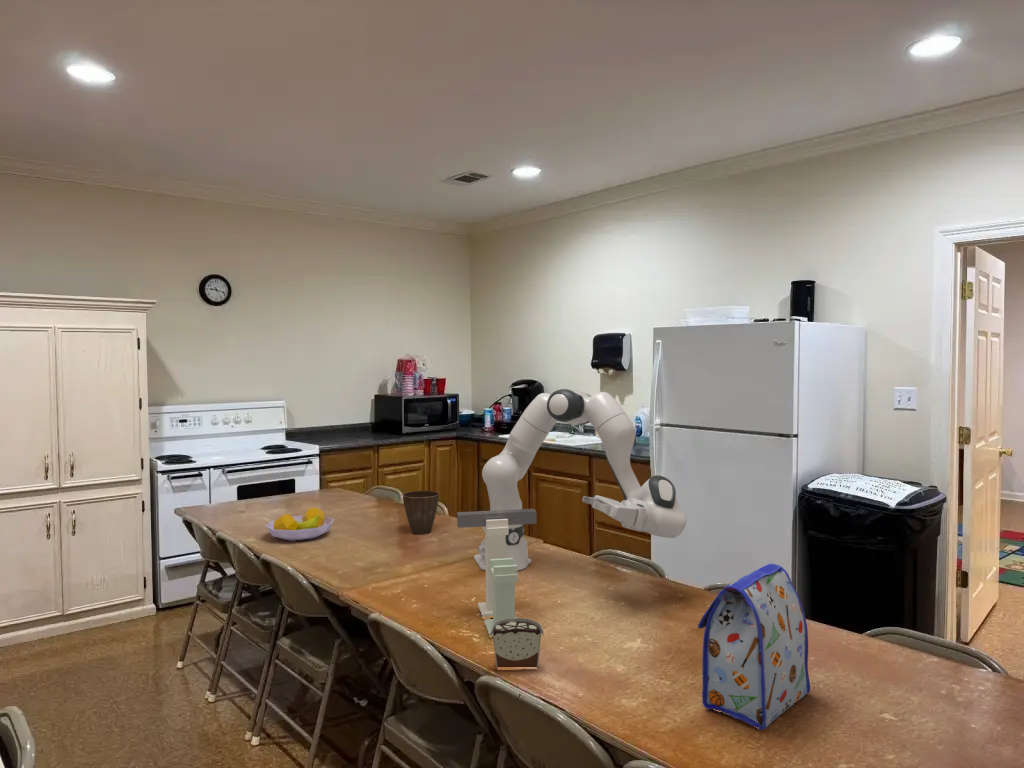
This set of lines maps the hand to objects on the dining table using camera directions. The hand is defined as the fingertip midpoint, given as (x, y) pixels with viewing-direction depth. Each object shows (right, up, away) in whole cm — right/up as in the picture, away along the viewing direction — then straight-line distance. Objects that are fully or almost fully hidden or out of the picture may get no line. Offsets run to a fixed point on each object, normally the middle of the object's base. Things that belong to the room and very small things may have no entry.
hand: (587, 501), depth 195 cm
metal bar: (-26, -5, -5) cm, 27 cm away
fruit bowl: (-107, -28, +80) cm, 137 cm away
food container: (-21, -32, -37) cm, 53 cm away
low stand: (-24, -31, -17) cm, 42 cm away
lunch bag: (+29, -32, -54) cm, 69 cm away
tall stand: (-26, -30, -4) cm, 40 cm away
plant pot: (-59, -28, +86) cm, 109 cm away
